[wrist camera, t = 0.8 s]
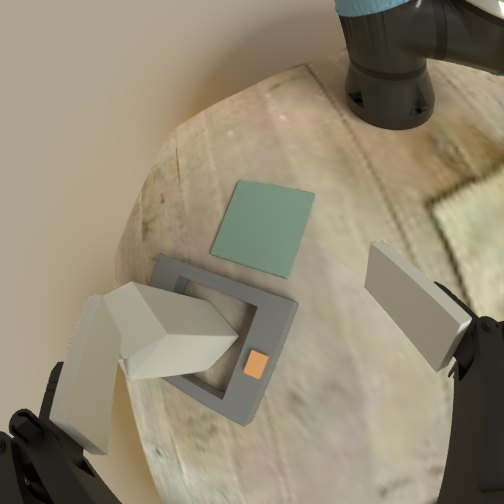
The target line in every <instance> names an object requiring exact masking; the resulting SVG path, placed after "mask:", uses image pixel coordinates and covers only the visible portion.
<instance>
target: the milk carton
mask: <svg viewBox="0 0 504 504" xmlns="http://www.w3.org/2000/svg"><path fill="white" fill-rule="evenodd" d="M103 298H104V300H105V302H106V304H107V306H108V309H109V311H110V313H111V315H112V317H113V319H114V321H115V323H116V325H117V327H118V329H119V331H120V333H121V335H122V341H121V346H120V352H119V358H118V362H119V364H120V366H121V367H122V369H123V371H124V372H125V374H126V376H127V377H128V379H129V380H140V379H150V378H159V377H167V376H174V375H182V374H188V373H195V372H201V371H207V370H208V369H209V368H210V367H211V366H212V365H213V364H214V363H215V362H216V361H217V360H218V359H219V358H220V357H221V356H222V355H223V354H224V353H225V352H226V350H227V349H228V348H229V347H230V346H231V345H232V344H233V343H234V342H235V341H236V340H237V339H238V338H239V335H238V334H237V332H236V331H235V330H234V329H233V328H232V327H231V326H230V325H229V324H228V323H227V321H226V320H225V319H224V318H223V317H222V316H221V315H220V314H219V313H218V311H217V310H216V309H215V308H214V307H213V306H212V305H211V303H210V302H209V301H206V300H202V299H198V298H194V297H189V296H185V295H181V294H177V293H173V292H169V291H166V290H162V289H158V288H154V287H150V286H147V285H143V284H139V283H136V282H132V281H131V282H129V283H127V284H125V285H123V286H121V287H119V288H117V289H115V290H113V291H111V292H109V293H107V294H105V295H103ZM86 300H87V299H85V300H84V302H86Z"/></svg>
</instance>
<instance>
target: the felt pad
mask: <svg viewBox="0 0 504 504" xmlns="http://www.w3.org/2000/svg"><path fill="white" fill-rule="evenodd" d="M314 197H315V194H314V193H311V192H306V191H301V190H295V189H290V188H284V187H278V186H272V185H266V184H260V183H253V182H247V181H240V180H239V182H238V185H237V187H236V190H235V192H234V195H233V197H232V199H231V202H230V204H229V207H228V209H227V212H226V214H225V217H224V219H223V222H222V225H221V227H220V230H219V232H218V235H217V237H216V240H215V243H214V245H213V248H212V250H211V253H210V254H211V255H214V256H217V257H220V258H223V259H226V260H230V261H233V262H236V263H239V264H242V265H245V266H248V267H251V268H254V269H258V270H261V271H264V272H267V273H270V274H273V275H276V276H280V277H283V278H286V279H288V276H289V273H290V270H291V267H292V264H293V261H294V258H295V255H296V252H297V250H298V247H299V244H300V241H301V238H302V234H303V231H304V228H305V225H306V222H307V219H308V216H309V213H310V210H311V207H312V203H313V200H314Z"/></svg>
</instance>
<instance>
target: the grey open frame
mask: <svg viewBox="0 0 504 504" xmlns="http://www.w3.org/2000/svg"><path fill="white" fill-rule="evenodd" d="M188 279H189V280H192V281H194V282H196V283H199V284H201V285H204V286H206V287H209V288H211V289H214V290H216V291H219V292H221V293H224V294H226V295H229V296H231V297H234V298H236V299H239V300H242V301H244V302H247V303H250V304H252V305H255V306H257V307H258V308H257V311H256V313H255V316H254V319H253V321H252V324H251V327H250V330H249V332H248V335H247V338H246V340H245V343H244V346H243V348H242V351H241V353H240V356H239V359H238V361H237V364H236V367H235V369H234V372H233V374H232V377H231V380H230V382H229V385H228V387H227V390H226V392H225V393H223V392H221V391H220V390H218V389H216V388H214V387H212V386H210V385H209V384H207V383H205V382H203V381H202V380H200V379H198V378H196V377H195V376H193V375H191V374H190V373H188V374H182V375H174V376H167V377H161V378H163V379H164V380H166V381H167V382H169V383H170V384H172V385H173V386H175V387H176V388H178V389H179V390H181V391H182V392H184V393H186V394H187V395H189V396H190V397H192V398H194V399H195V400H197V401H199V402H200V403H202V404H204V405H205V406H207V407H209V408H210V409H212V410H214V411H216V412H217V413H219V414H221V415H223V416H225V417H226V418H228V419H230V420H232V421H234V422H236V423H238V424H240V425H242V426H244V427H245V426H246V425H248V424H249V423H251V422H252V420H253V418H254V416H255V413H256V411H257V409H258V407H259V404H260V402H261V400H262V397H263V395H264V393H265V390H266V388H267V385H268V383H269V380H270V378H271V376H272V373H273V371H274V368H275V366H276V363H277V361H278V358H279V356H280V353H281V350H282V348H283V345H284V343H285V340H286V337H287V335H288V332H289V329H290V327H291V324H292V321H293V318H294V316H295V313H296V310H297V307H298V305H299V303H296V302H294V301H291V300H288V299H285V298H282V297H279V296H276V295H273V294H270V293H268V292H265V291H262V290H259V289H256V288H253V287H250V286H248V285H245V284H242V283H239V282H236V281H234V280H231V279H228V278H225V277H222V276H220V275H217V274H214V273H211V272H209V271H206V270H203V269H201V268H198V267H195V266H193V265H190V264H187V263H185V262H182V261H179V260H177V259H174V258H171V257H169V256H166V255H164V254H160V256H159V259H158V262H157V264H156V267H155V270H154V272H153V275H152V278H151V281H150V284H149V286H150V287H154V288H158V289H162V290H166V291H169V292H173V293H177V294H181V295H183V293H184V290H185V288H186V285H187V282H188Z"/></svg>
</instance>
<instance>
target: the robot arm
mask: <svg viewBox="0 0 504 504" xmlns="http://www.w3.org/2000/svg"><path fill="white" fill-rule="evenodd" d="M335 4H336V5H335V10H336V12H337V13H338V15H339V18H340V22H341V25H342V29H343V33H344V37H345V40H346V45H347V49H348V53H349V58H350V64H349V69H348V73H347V78H346V82H345V92H346V97H347V101H348V104H349V106H350V108H351V109H352V110H353V112H354V113H355V114H356V115H358V116H359V117H360V118H361V119H363V120H365V121H366V122H368V123H370V124H372V125H375V126H378V127H382V128H386V129H393V130H405V129H411V128H415V127H417V126H420V125H422V124H423V123H425V122H426V121H427V120H428V119H429V118H430V116H431V115H432V112H433V108H434V101H435V96H434V90H433V87H432V84H431V81H430V77H429V74H428V71H427V68H426V59H427V58H429V59H436V60H441V61H447V62H451V63H456V64H460V65H464V66H468V67H472V68H476V69H479V70H483V71H486V72H489V73H491V74H493V75H497V76H504V0H335ZM364 287H365V288H366V289H367V291H368V292H369V293H370V294H371V295H372V296H373V297H374V298H375V300H376V301H377V302H378V303H379V304H380V305H381V306H382V308H383V309H384V310H385V311H386V312H387V313H388V314H389V316H390V317H391V318H392V319H393V320H394V321H395V323H396V324H397V325H398V326H399V327H400V329H401V330H402V331H403V332H404V333H405V335H406V336H407V337H408V338H409V339H410V341H411V342H412V343H413V344H414V345H415V347H416V348H417V349H418V350H419V352H420V353H421V354H422V355H423V357H424V358H425V359H426V360H427V362H428V363H429V364H430V365H431V367H432V368H433V369H434V370H435V372H438V371H440V370H441V369H443V368H445V367H446V366H448V364H449V363H450V361H451V359H452V357H453V356H454V357H455V359H456V362H455V364H454V365H453V367H452V369H451V370H450V372H449V374H448V377H449V378H450V376H451V375H452V373H453V372H454V376H453V378H454V399H453V414H452V425H451V434H450V442H449V449H448V455H447V461H446V466H445V471H444V476H443V481H442V485H441V489H440V493H439V497H438V501H437V504H504V321H501V322H497V321H496V320H494V319H493V318H491V317H488V316H482V317H480V318H479V317H478V316H477V315H476V314H475V313H473V312H472V311H471V310H470V309H469V308H468V307H467V306H466V305H465V304H464V303H463V302H462V301H461V300H460V299H458V298H457V297H456V296H455V295H454V294H452V292H451V291H450V290H448V289H447V288H446V287H445V286H443V285H441V284H439V283H437V282H432V281H431V280H430V279H429V278H428V277H427V276H426V275H424V274H423V273H422V272H421V271H420V270H418V269H417V268H416V267H415V266H414V265H413V264H411V263H410V262H409V261H408V260H406V259H405V258H404V257H403V256H402V255H400V254H399V253H398V252H397V251H395V250H394V249H393V248H392V247H390V246H389V245H388V244H387V243H385V242H384V241H383V240H380V241H375V242H371V243H370V250H369V258H368V266H367V273H366V280H365V286H364ZM121 341H122V335H121V333H120V331H119V329H118V327H117V325H116V323H115V321H114V319H113V317H112V315H111V313H110V311H109V309H108V306H107V304H106V302H105V300H104V298H103V295H102V294H98V295H92V296H88V298H87V300H86V302H85V305H84V307H83V310H82V313H81V315H80V318H79V320H78V323H77V326H76V328H75V331H74V334H73V337H72V340H71V342H70V345H69V348H68V352H67V354H66V357H65V361H64V362H58V363H57V364H56V366H55V367H54V368H53V370H52V372H51V374H50V377H49V381H48V382H49V384H47V388H46V392H45V394H44V398H43V402H42V406H41V410H40V414H39V418H38V417H36V415H34V414H33V413H32V412H31V411H30V410H28V409H21V410H18V411H17V412H15V413H14V415H12V417H11V419H10V423H9V432H10V433H11V434H12V435H13V436H14V438H11V437H10V436H9V435H7V434H6V433H4V432H2V431H0V504H122V503H121V502H120V501H119V500H118V498H117V497H116V496H115V495H114V494H113V493H112V491H111V490H110V489H109V488H108V486H107V485H106V484H105V483H104V481H103V480H102V479H101V478H100V476H99V475H98V474H97V472H96V471H95V470H94V468H93V467H92V466H91V464H90V463H89V461H88V460H87V459H86V458H85V457H84V456H83V449H85V450H87V451H88V452H89V453H91V454H95V455H96V454H97V455H108V451H109V450H108V449H109V434H110V422H111V411H112V401H113V393H114V385H115V378H116V371H117V364H118V358H119V352H120V346H121ZM25 479H26V481H25Z"/></svg>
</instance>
